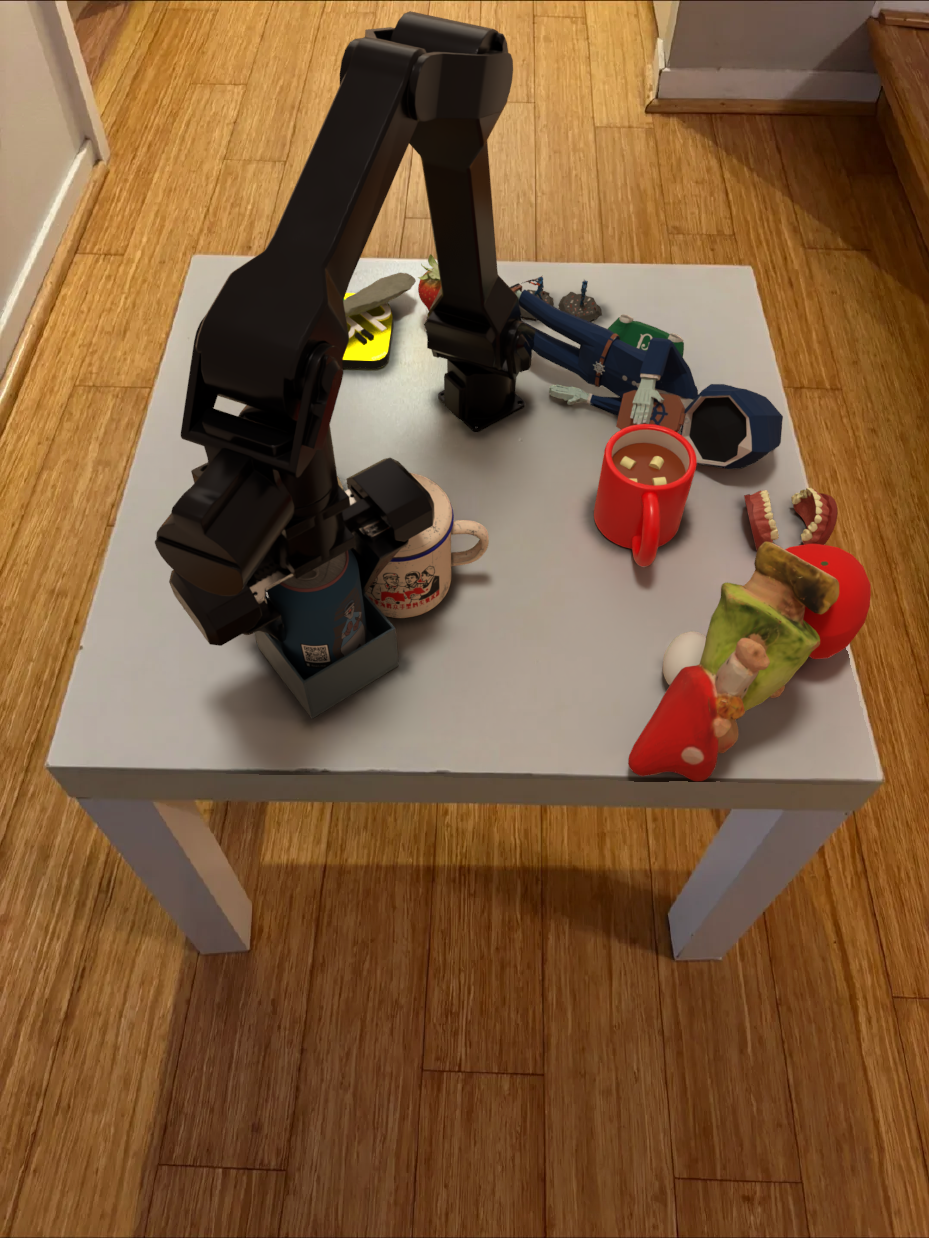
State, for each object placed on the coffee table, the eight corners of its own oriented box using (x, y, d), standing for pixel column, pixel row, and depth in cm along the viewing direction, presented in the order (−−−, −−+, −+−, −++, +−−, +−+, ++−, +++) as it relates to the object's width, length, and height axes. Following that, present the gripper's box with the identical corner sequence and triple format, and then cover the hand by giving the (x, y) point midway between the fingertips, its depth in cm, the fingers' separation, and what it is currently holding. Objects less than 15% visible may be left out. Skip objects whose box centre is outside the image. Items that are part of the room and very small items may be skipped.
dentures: (744, 474, 87) (833, 476, 88) (732, 504, 91) (818, 505, 91) (754, 524, 84) (846, 525, 85) (741, 553, 88) (829, 554, 88)
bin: (343, 599, 84) (336, 560, 80) (398, 665, 81) (395, 628, 76) (258, 648, 82) (246, 610, 77) (311, 719, 78) (303, 683, 73)
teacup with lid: (348, 624, 83) (334, 536, 73) (351, 541, 88) (338, 448, 79) (489, 619, 83) (494, 532, 74) (484, 537, 89) (487, 445, 79)
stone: (425, 297, 105) (399, 284, 108) (422, 279, 104) (397, 266, 107) (322, 335, 100) (299, 320, 103) (319, 316, 99) (295, 302, 102)
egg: (715, 653, 82) (726, 627, 78) (695, 711, 78) (706, 686, 75) (671, 638, 82) (679, 611, 79) (650, 694, 79) (658, 669, 76)
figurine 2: (873, 601, 73) (723, 817, 77) (775, 546, 78) (639, 752, 81) (841, 574, 64) (673, 820, 68) (733, 513, 68) (581, 746, 72)
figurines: (603, 295, 108) (609, 265, 104) (601, 328, 106) (607, 298, 102) (512, 287, 108) (515, 256, 104) (509, 319, 106) (512, 289, 102)
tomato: (814, 619, 72) (806, 697, 78) (910, 558, 75) (896, 638, 81) (724, 562, 78) (722, 638, 84) (815, 508, 82) (808, 585, 87)
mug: (599, 586, 85) (611, 527, 79) (591, 483, 92) (601, 422, 86) (690, 587, 85) (709, 529, 79) (674, 484, 92) (691, 423, 86)
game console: (214, 365, 101) (211, 354, 100) (231, 297, 107) (229, 286, 106) (388, 369, 101) (388, 358, 100) (395, 301, 107) (395, 289, 106)
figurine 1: (473, 275, 89) (761, 434, 80) (550, 225, 96) (824, 367, 87) (459, 378, 98) (716, 531, 89) (530, 326, 105) (776, 464, 96)
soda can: (290, 612, 82) (267, 519, 72) (372, 614, 82) (360, 521, 72) (278, 683, 78) (252, 595, 68) (365, 685, 78) (352, 597, 68)
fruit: (425, 305, 107) (423, 240, 100) (473, 311, 106) (474, 246, 100) (414, 335, 104) (411, 270, 97) (463, 342, 103) (464, 277, 97)
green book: (671, 399, 102) (696, 344, 100) (664, 394, 98) (690, 337, 97) (592, 367, 104) (616, 313, 103) (583, 361, 101) (607, 305, 99)
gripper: (345, 351, 70) (362, 497, 83) (104, 466, 64) (163, 605, 77) (437, 441, 65) (440, 582, 78) (185, 575, 59) (234, 704, 72)
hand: (320, 614), depth 76 cm, fingers closed on soda can, 7 cm apart
